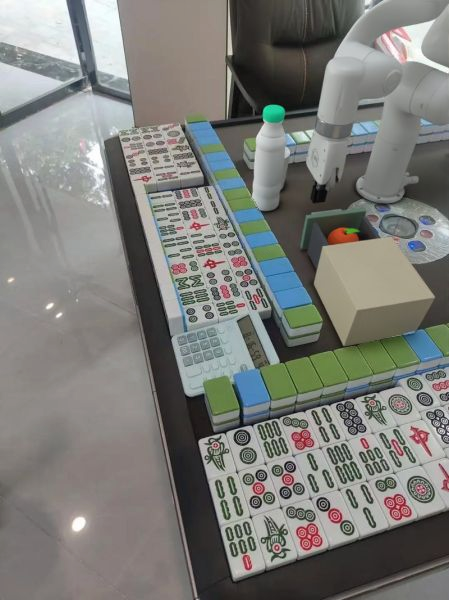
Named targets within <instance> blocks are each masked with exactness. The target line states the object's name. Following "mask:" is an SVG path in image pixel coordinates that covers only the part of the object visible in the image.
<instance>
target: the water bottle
mask: <svg viewBox="0 0 449 600" xmlns="http://www.w3.org/2000/svg"><path fill="white" fill-rule="evenodd" d="M285 116H286V110H285V108H284V107H283V106H281V105H278V104H269V105H266V106H265V107H264V108H263V110H262V120H263V125H262V126H261V127H260V130H259V131H258V133H257V135H256V138H255V151H254V163H253V180H252V193H251V199H252V198H253V199H254V201H255V202H256V204H257V206H258V208H259V210H258V211H262V212H271V211H274V210H275V209H277V208H278V206H279V204H280V197H281V196H280V193H281V190H282V189H281V178H282V173H283V166H284V158H285V146H286V147H287V143H288V142H287V135H286V133H285V129H284V127H283V124H282V123H283V122H284V121H285ZM280 189H281V190H280Z"/></svg>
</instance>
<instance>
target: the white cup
mask: <svg viewBox="0 0 449 600" xmlns="http://www.w3.org/2000/svg"><path fill="white" fill-rule="evenodd" d="M290 157H291V150H290V149H289V147H287V145H286V146H285V158H284V166H283V173H282V178H281V189H280V191H281V190H283V188H284V186H285V181H286V178H287V172H288V167H289V161H290Z"/></svg>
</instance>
